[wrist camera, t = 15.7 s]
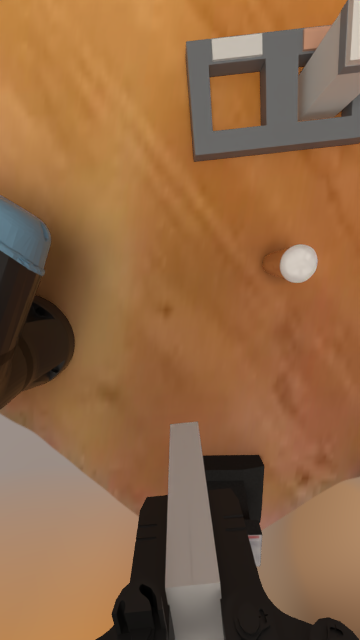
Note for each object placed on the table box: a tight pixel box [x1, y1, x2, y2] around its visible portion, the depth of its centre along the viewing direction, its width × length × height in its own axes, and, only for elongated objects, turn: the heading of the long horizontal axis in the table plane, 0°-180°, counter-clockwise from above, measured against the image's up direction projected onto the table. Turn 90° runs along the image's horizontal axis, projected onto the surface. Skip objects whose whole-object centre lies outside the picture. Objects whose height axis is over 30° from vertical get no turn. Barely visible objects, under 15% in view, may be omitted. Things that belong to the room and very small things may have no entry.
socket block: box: [186, 25, 360, 162], centre depth 30 cm, size 23×12×2 cm, turn 96°
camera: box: [203, 455, 264, 566], centre depth 40 cm, size 16×14×15 cm
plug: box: [298, 0, 360, 121], centre depth 27 cm, size 5×5×10 cm
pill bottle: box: [262, 244, 318, 283], centre depth 32 cm, size 5×5×10 cm
